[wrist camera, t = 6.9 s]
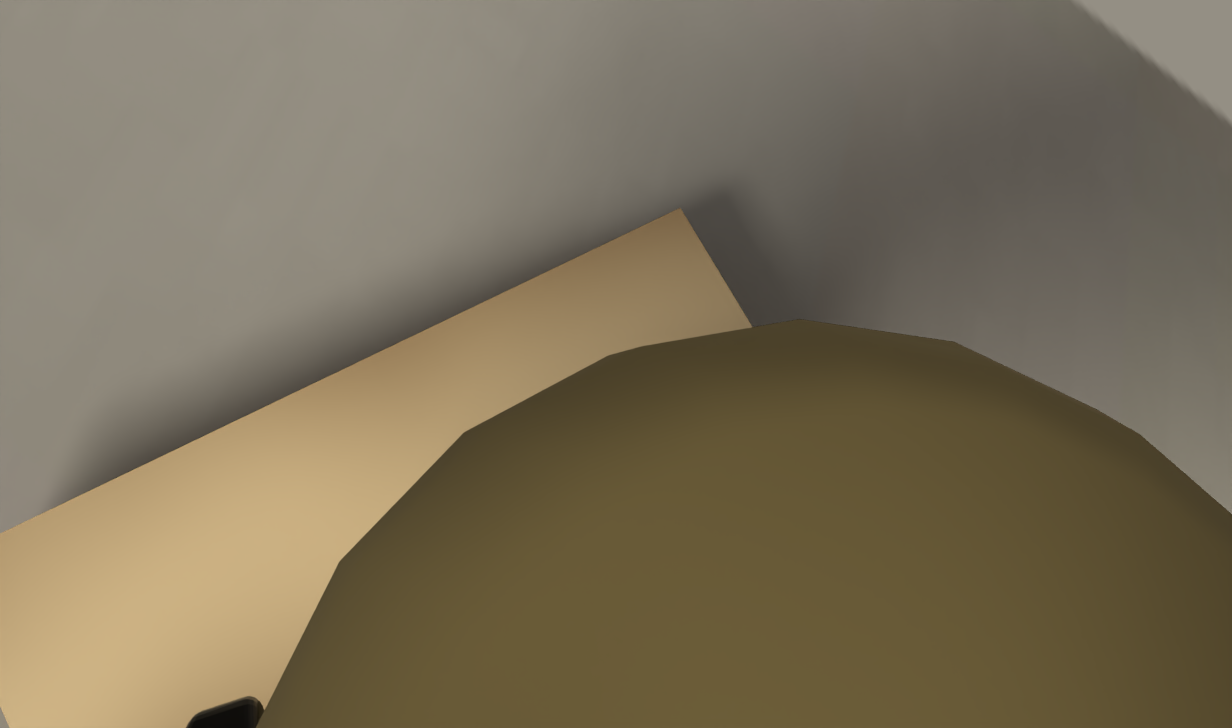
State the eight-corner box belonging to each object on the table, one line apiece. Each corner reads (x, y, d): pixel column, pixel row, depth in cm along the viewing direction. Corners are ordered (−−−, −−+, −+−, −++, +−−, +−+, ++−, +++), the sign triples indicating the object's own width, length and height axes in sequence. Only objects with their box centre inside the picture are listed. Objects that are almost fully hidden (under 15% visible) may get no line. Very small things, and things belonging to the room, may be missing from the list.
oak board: (999, 852, 19) (1085, 877, 16) (354, 1343, 15) (343, 1468, 13) (648, 262, 20) (680, 207, 18) (2, 579, 17) (-64, 564, 15)
